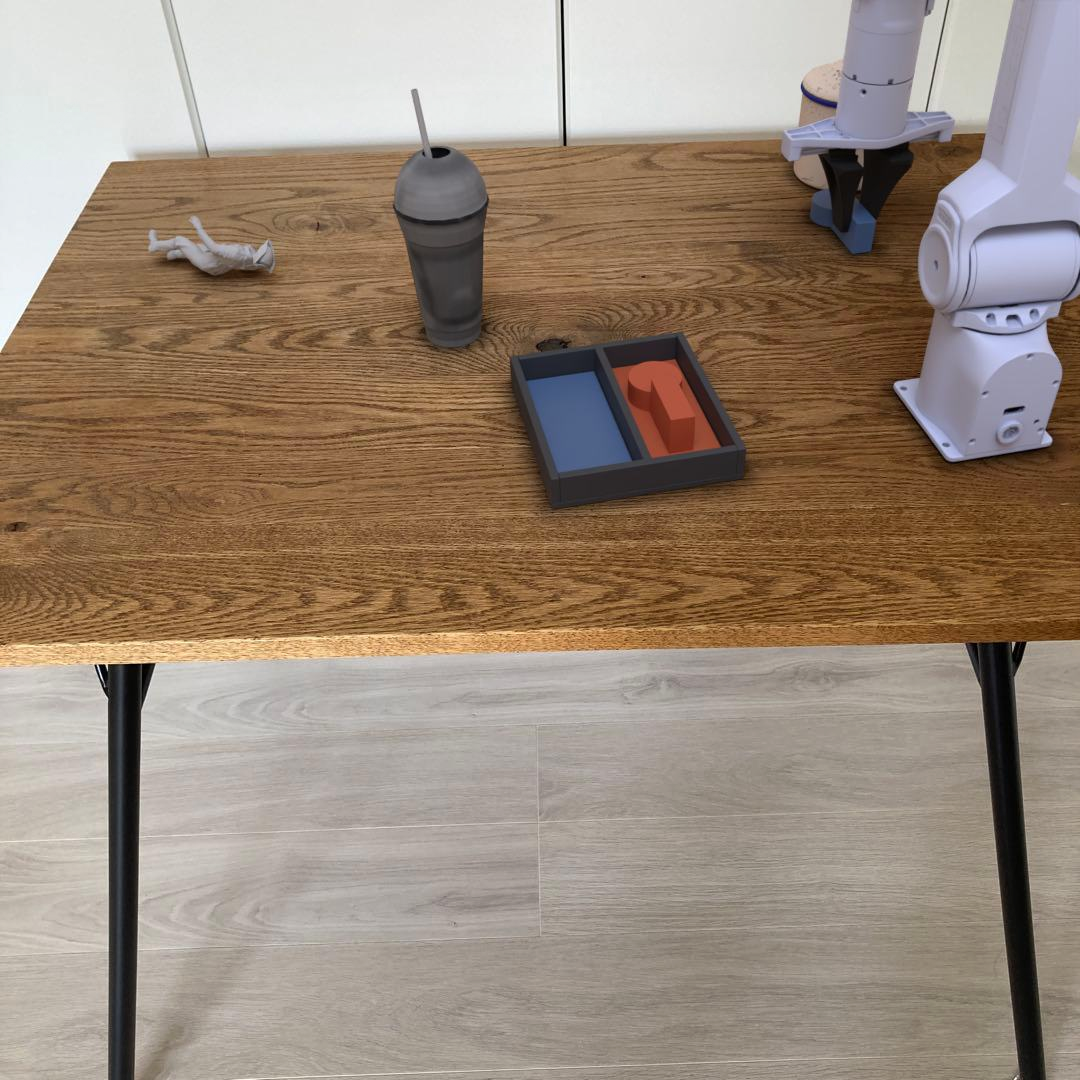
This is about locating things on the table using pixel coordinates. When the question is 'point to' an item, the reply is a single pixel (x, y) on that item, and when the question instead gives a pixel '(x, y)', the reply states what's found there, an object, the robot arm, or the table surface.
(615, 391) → the divided sorting tray
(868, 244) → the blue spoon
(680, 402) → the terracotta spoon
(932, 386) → the robot arm
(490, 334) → the table surface
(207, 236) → the soldier figure
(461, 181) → the beverage cup
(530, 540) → the table surface
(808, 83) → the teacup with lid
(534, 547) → the table surface
